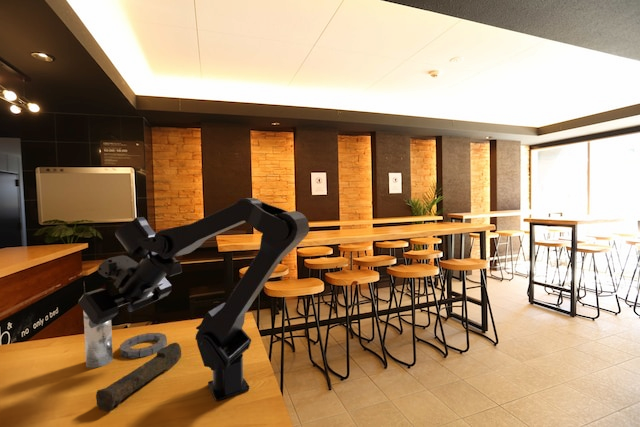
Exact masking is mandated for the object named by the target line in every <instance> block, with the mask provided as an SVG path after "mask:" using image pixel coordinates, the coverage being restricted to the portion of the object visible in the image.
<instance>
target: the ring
mask: <svg viewBox="0 0 640 427" xmlns="http://www.w3.org/2000/svg"><path fill="white" fill-rule="evenodd" d="M145 342H156V343H154V344H152V345H149V346H146V347H141V348H132V347H134V346H135V345H137V344H140V343H145ZM166 346H168V338H167V336H166V334H165V333H162V332H161V333H160V332H145V333H142V334H138V335H133V337H129V338H128V339H126V340H124V341H123V342H122V343H120V346H119V348H120V349H119V351H120V356H121V357H124V358H126V359H140V358H143V357H147V356H152V355H154V354H157V352H158V351H159V350H160V349H162V348H164V347H166Z"/></svg>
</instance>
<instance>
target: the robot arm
mask: <svg viewBox="0 0 640 427" xmlns="http://www.w3.org/2000/svg"><path fill="white" fill-rule="evenodd" d="M245 223H247V224H248V225H249V226H250V227H252V228H253V229H254V230H256V231H257V232H259V233H261V236H260V244H259V249H258V252H257V253H256V255H255V256H254V258H253V260H252V261H251V263H250V264H249V266H248V268H247V269H246V270H245V272H244V274H243V275H242V277H241V278H240V280H239V281H238V283H237V284H236V285H235V288H234V289H233V290H232V292H231V294H230V295H229V297H228V299H227V300H226V302H223V303H221V304H219V305H217V306H215V307H213V308H212V309H211V310H209V311H207V312H206V313H205V315H204V316H203V319H202V321H201V323H200V324H198V326H196V327H195V329H196V330H197V332H196V333H195V341H196V344H197V348H198V351H199V354H200V357H201V360H202V363H203V366H204V367H207V368H209V369H210V370H211V371H212V380H209V381H208V382H207V386H208V388H209V390H210V393H211V394H212V395H213V396H212V397H213V398H214V400H215V401H216V402H221V401H222V400H223V401H224V400H225V399H228V398H230V397H234V396H235V395H238V394H241V393H243V392H246V391H249V390H250V385H249V384H248V381H246V379H245V378H244V357H243V356H244V354H243V353H245V352H246V351H247V350H249V349H250V346H251V343H252V339H251V337H250V336H249V335H248V334H247V332H245V330H244V329H243V327H244V324H245V316H246V313H247V312H248V310H249V309H250V307H251V306H252V304H253V303H254V301H255V300H256V298H257V297H258V296H259V295H260V293H261V291H262V290H263V287H265V285H266V283H267V282H268V281H269V279H270V277H271V276H272V275H273V273H274V272H275V271H276V269H277V267H278V265H279V264H280V263H281V261H282V260H283V259H284V258H285V257H286V256H287V255H289V253H291V252H292V251H293V250H294V249H295V248H296V247H297V246H298V245H299V244H300V243H302V241H303V240H304V239H305V238H306V237H307V236H308V234H309V232H310V225H309V220H308V218H307V217H306V216H305V214H303V213H302V212H300V211H296V210H295V211H294V210H293V211H288V210H285V209H284V208H281V207H277V206H274V205H271V204H268V203H266V202H264V201H262V200H260V199H258V198H255V197H250V198H249V197H247V198H246V197H245V198H240V199H239V200H238V201H237V202H235V203H233V204H231V205H229V206H225V207H224V208H222V209H219V210H218V211H216V212H213V213H211V214H209V215H206V216H205V217H202V218H200V219H198V220H196V221H194V222H191V223H189V224H184V225H179V226H178V225H177V226H174V227H170V228H165V229H161V230H158V231H157V232H155V231H154V229H153V228H152V227H151V226H150V224H149V222H148V221H147V219H146V218H145V216H141V217H134V219H133V220H131V221H129V222H127V223H125V224H123V225H122V226H121V227H118V228H117V229H116V231H115V233H114V235H115V237H116V238H117V239H118V241H119V242H120V243H121V245H122V246H123V247H124V249H125V250H126V252H127V253H128V254H129V255H130V256H131V257H132V258H131V257H129V256H127V255H123V254H122V255H117V256H112V257H108V258H107V259H104V260H103V261H102V262H101V263H99V265H98V267H97V272H98V274H99V275H101V276H103V277H104V278H109V277H110V278H111V279H112V280H114V282H113V285H114V286H115V288H116V289H118V291H119V293H118V294H115V295H111V294H110V293H109V291H108V290H107V289H106V288H99V289H98V288H97V289H95V290H91V291H89V292H85V293H83V294H82V296H81V297H80V298H79V299H78V302H77V304H78V305H79V306H80V307H81V309H82V310H84V312H85V313H86V314H87V316H88V317H89V326H90V327H91V328H94V327H96V326H98V325H100V324H103V323H105V322H107V321H109V320H111V321H112V320H113V319H114V317H115V316H117V315H118V314H119V312H120V310H119V307H121V306H125V305H126V304H127V305H128V304H129V305H128V306H127V311H128V313H131V312H134V311H136V310H139V309H140V308H144V307H146V306H147V305H149V304H152V303H154V302H157V301H158V300H159V301H160V300H161V299H163V298H165V297H168V296H169V294H170V293H171V292H172V291H173V290H172V287H173V286H172V284H171V283H170V281H169V280H167V278H166V276H167V277H172V276H175V275H178V274H181V273H182V272H183V267H182V264H181V261H180V260H177V259H176V257H179V256H183V255H187V254H191V253H192V252H194V251H195V250H196V249H198V248H199V247H201V246H202V245H203V244H204V242H205V241H207V240H209V239H211V238H212V237H215V236H217V235H219V234H222V233H224V232H226V231H227V232H228V230H231V229H233V228H237V227H238V226H240V225H242V224H245ZM135 257H139V258H142V259H141V260H140V262H137V261H135V260H134V259H133V258H135Z"/></svg>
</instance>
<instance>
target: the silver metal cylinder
mask: <svg viewBox="0 0 640 427" xmlns="http://www.w3.org/2000/svg"><path fill="white" fill-rule="evenodd" d="M82 310H83V309H82ZM82 313H83V326H84V331H83V332H84V348H85V349H84V351H85V352H84V353H85V366H86V368H87V369H97V368H101V367H104V366H106V365H108V364H110V363H112V361H114V360H113V359H114V355H113V354H114V352H113V331H112V329H113V328H112V319H111V320H109V321H107V322H105V323H103V324H100V325H98V326H96V327H94V328H91V327H90V326H89V317H88V316H87V314H86V313H85V312H84V310H83V312H82Z"/></svg>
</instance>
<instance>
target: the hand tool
mask: <svg viewBox="0 0 640 427" xmlns="http://www.w3.org/2000/svg"><path fill="white" fill-rule="evenodd" d="M181 358H182V348H181V345H180V343H178V342H173V343H169V344H167V345H166V346H165V347H164V348H162V349H160V350H159V351H158V352H156V355H155V356H154V357H152V358H150V360H148V361H147V362H145V363H144V364H142V365H140V366H138V367H137V368H135V369H133V370H132V371H131V372H129V373H128V374H126V375H124V376H122V377H121V378H119V379H118V380H116V381H114V382H113V383H111V384H109V385H108V386H106V387H104V388H101V389H98V390H97V391H96V394H95V399H96V405H97V407H98V409H99V410H101V411H104V412H111V411H113V409H114V407H115V406H120V405H121V402H122V401H123V400H125V399H126V398H127V397H128V396H131V394H132V393H134V392H135V391H136V390H138V389H140V388H141V387H143V386H145V384H146V383H148V382H149V381H150V380H152V379H153V378H155V377H157V376H158V375H159V374H161V373H165V372H167V371H170V370H171V369H172V368H173V367H174V366H175V365H176V364H177V363H178V361H180V359H181Z"/></svg>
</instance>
